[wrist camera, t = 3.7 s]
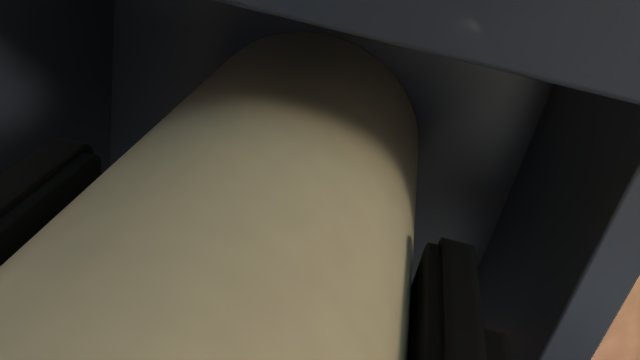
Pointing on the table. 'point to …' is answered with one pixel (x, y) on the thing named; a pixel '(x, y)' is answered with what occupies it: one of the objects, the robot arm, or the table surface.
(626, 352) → the table surface
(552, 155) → the drawer
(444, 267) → the robot arm
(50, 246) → the paper roll
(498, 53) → the cabinet
